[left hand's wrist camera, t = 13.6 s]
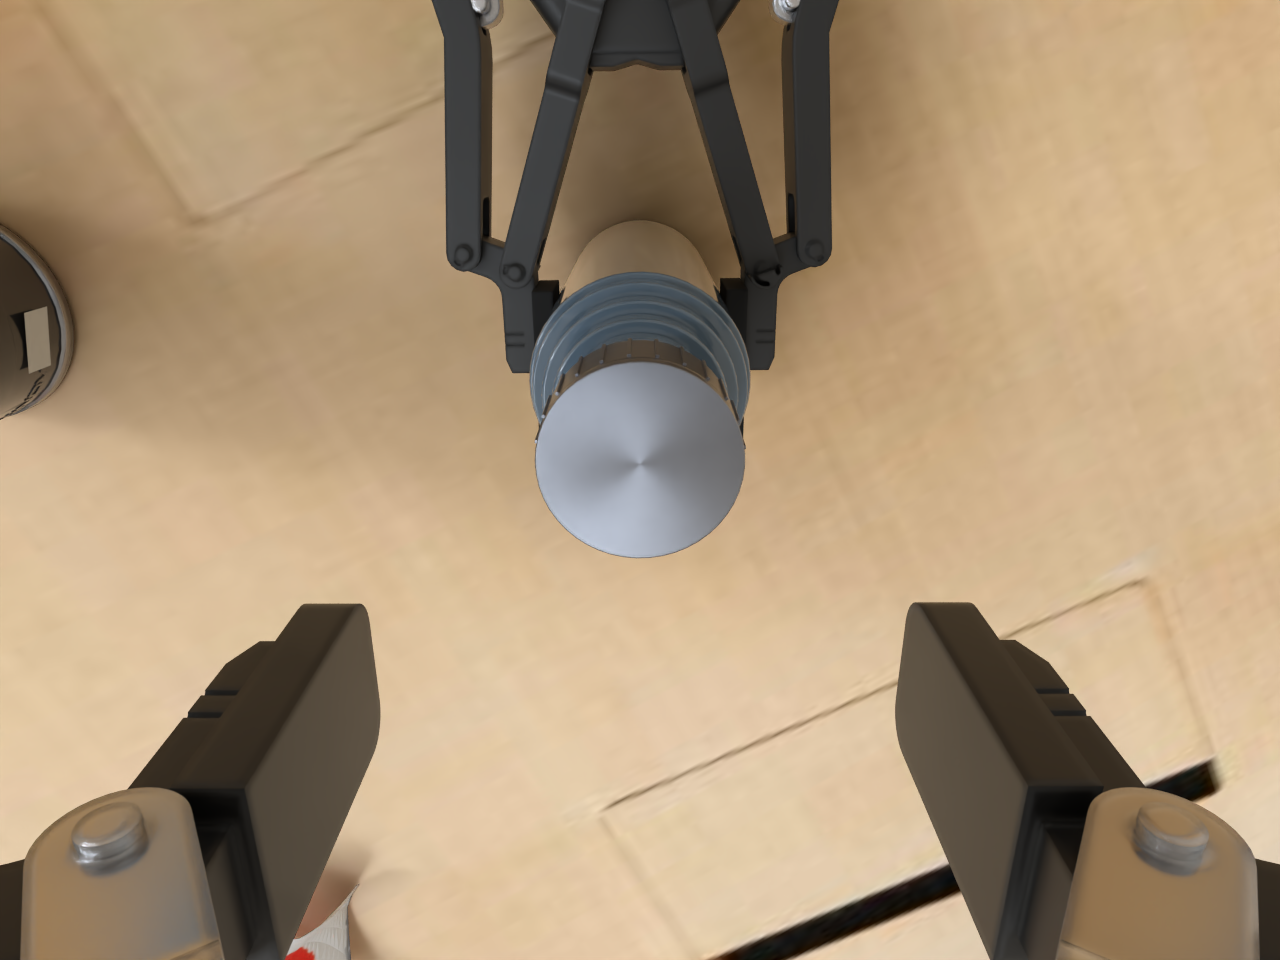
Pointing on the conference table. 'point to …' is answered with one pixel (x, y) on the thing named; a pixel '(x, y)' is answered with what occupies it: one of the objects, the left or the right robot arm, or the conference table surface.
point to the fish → (325, 938)
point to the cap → (639, 450)
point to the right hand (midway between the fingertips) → (641, 448)
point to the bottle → (640, 308)
